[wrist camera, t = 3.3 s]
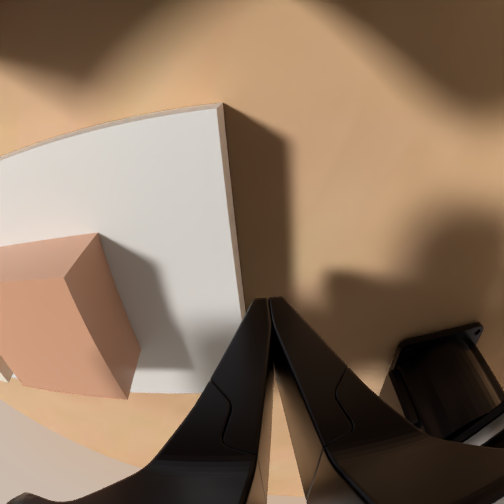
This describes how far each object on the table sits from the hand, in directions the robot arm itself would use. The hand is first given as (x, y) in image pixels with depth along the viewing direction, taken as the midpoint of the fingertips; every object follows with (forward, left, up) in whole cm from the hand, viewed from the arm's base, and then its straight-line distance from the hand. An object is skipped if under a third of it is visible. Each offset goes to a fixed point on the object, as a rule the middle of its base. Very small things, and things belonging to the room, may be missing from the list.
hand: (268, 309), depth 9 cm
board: (+9, 0, -4) cm, 10 cm away
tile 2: (+7, 0, -1) cm, 7 cm away
